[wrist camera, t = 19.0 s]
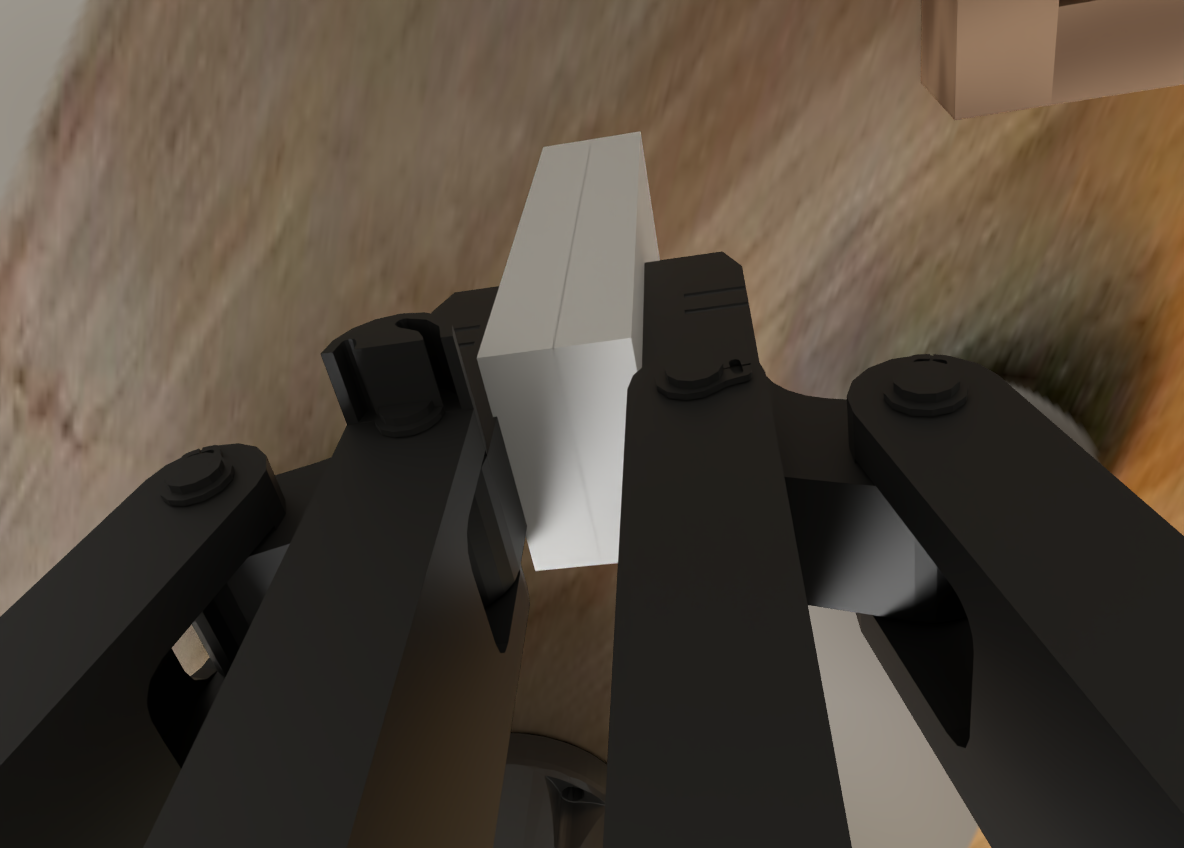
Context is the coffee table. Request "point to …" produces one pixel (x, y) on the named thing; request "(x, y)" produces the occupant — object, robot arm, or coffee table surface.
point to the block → (1046, 51)
